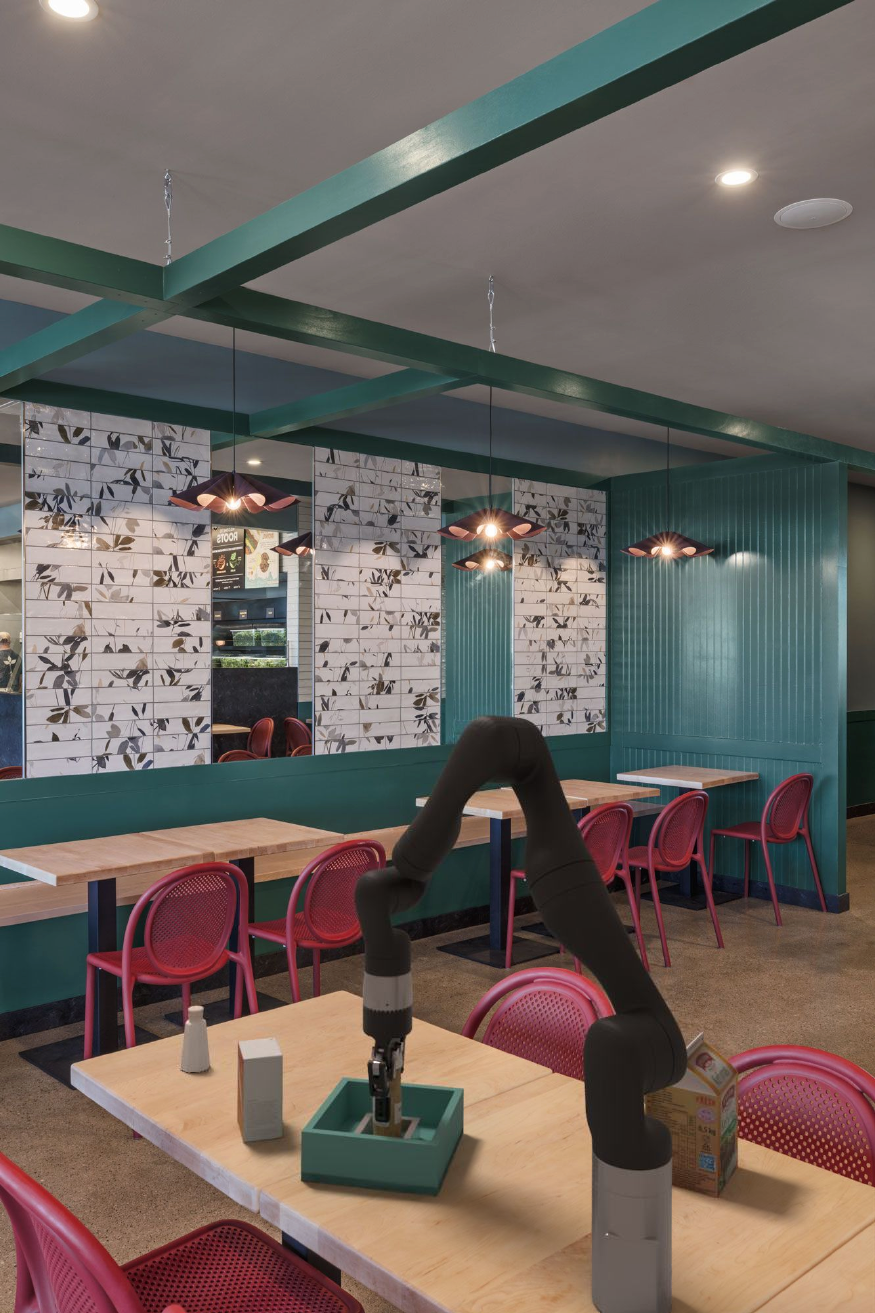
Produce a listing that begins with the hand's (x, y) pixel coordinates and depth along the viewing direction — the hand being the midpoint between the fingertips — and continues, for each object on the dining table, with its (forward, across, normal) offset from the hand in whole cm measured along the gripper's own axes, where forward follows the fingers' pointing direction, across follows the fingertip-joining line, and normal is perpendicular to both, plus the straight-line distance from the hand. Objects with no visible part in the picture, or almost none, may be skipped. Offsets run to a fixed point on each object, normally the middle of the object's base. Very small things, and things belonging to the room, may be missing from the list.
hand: (387, 1113), depth 154 cm
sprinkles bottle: (+4, 0, 0) cm, 4 cm away
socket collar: (+5, 0, 0) cm, 5 cm away
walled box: (+6, 0, 0) cm, 6 cm away
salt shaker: (+6, +25, +43) cm, 50 cm away
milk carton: (+7, +5, -45) cm, 46 cm away
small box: (+6, +4, +22) cm, 23 cm away
